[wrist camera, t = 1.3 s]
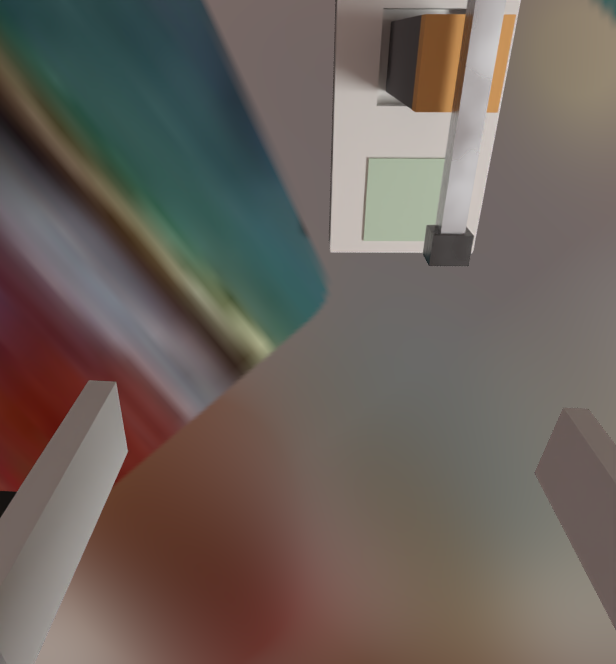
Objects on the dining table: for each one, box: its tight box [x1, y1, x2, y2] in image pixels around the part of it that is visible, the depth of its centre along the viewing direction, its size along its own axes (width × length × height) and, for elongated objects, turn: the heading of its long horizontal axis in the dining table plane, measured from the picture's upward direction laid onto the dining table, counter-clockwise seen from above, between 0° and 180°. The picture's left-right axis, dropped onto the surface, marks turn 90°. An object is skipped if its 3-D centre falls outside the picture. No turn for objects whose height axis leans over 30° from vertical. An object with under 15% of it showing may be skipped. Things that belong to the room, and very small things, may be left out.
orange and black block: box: [386, 14, 516, 113], centre depth 27 cm, size 4×4×11 cm
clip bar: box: [423, 0, 506, 266], centre depth 21 cm, size 17×3×2 cm, turn 0°
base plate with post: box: [329, 0, 521, 253], centre depth 28 cm, size 21×11×13 cm, turn 0°
